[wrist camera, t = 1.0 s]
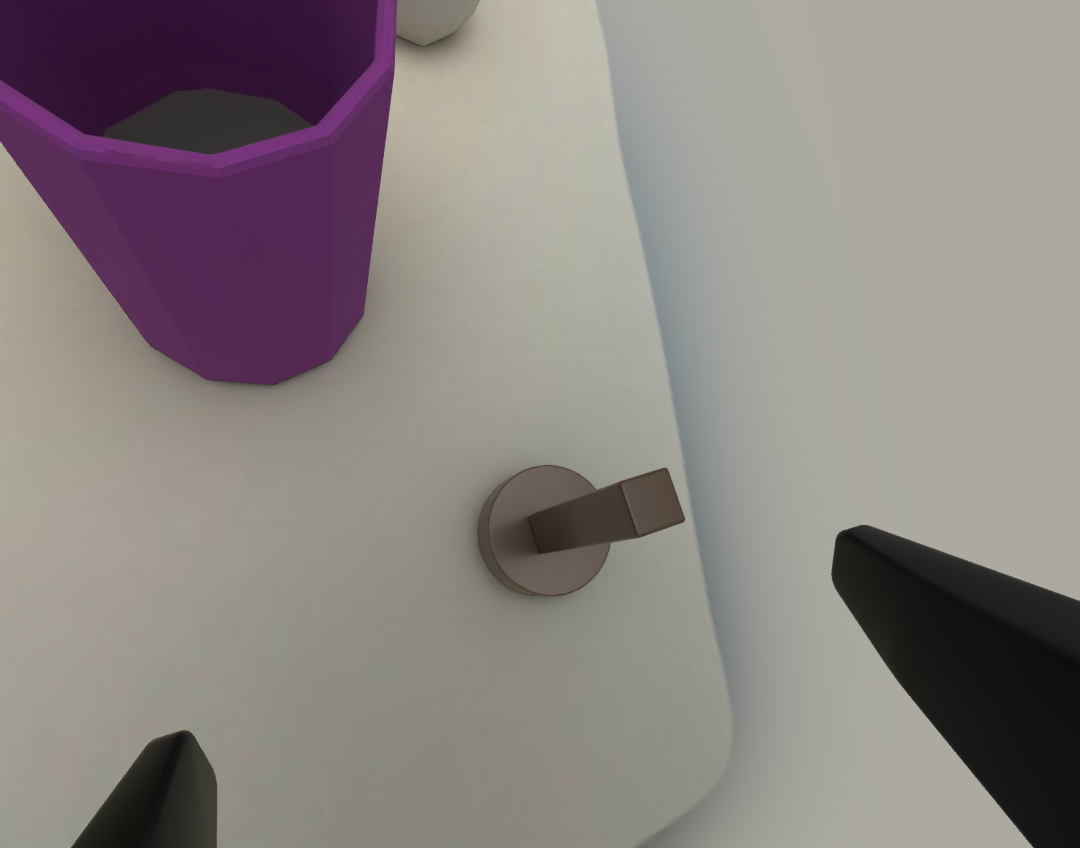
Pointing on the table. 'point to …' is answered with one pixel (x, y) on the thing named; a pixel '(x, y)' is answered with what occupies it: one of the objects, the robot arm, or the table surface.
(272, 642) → the table surface
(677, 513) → the lever handle
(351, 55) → the mug
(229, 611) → the table surface
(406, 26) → the salt shaker
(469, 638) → the table surface
